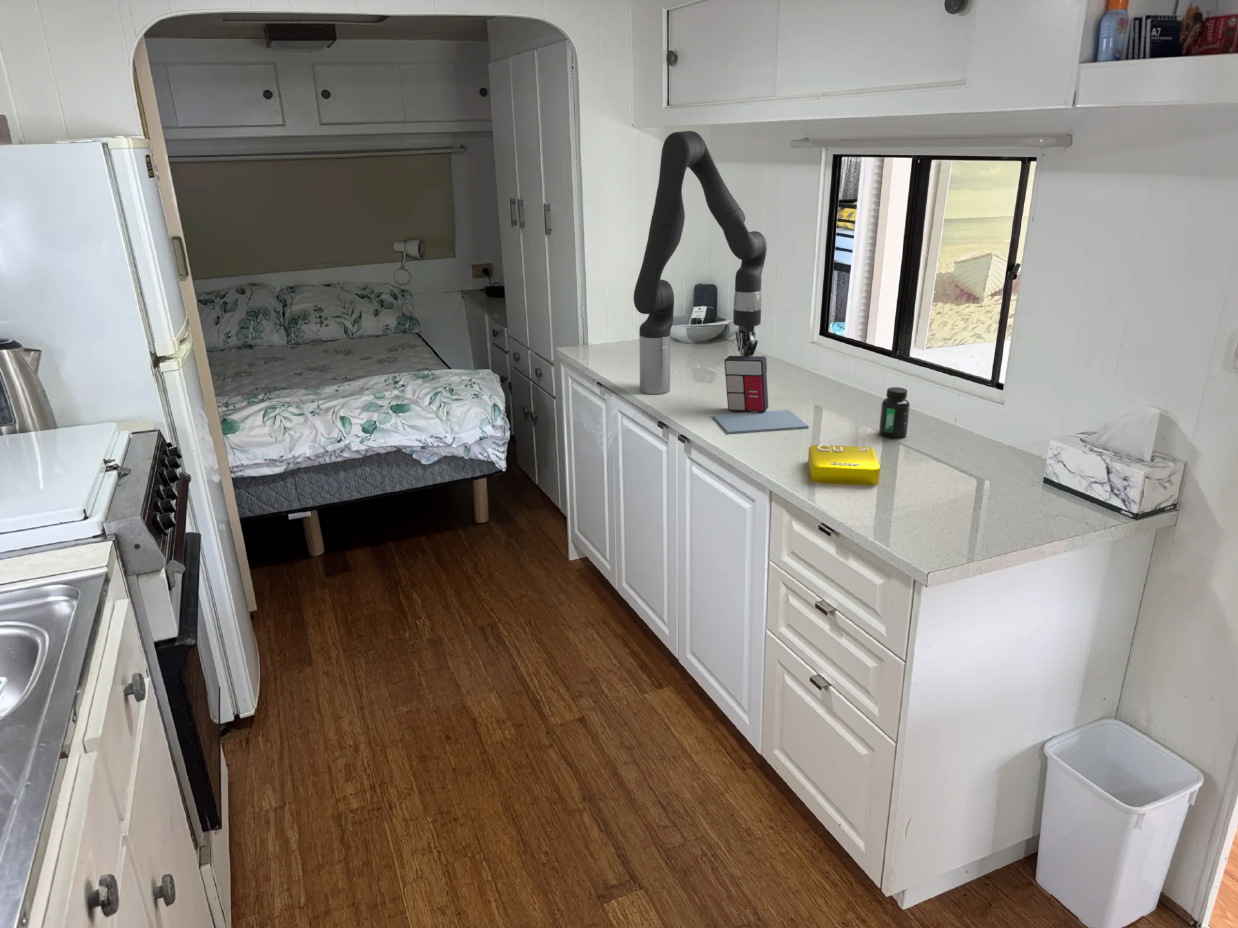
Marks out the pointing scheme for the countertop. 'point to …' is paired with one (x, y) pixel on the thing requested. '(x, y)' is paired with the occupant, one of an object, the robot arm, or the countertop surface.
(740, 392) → the dark grey boxy piece
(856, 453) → the element tile
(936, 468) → the countertop surface
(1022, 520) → the countertop surface
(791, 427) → the mat
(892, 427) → the supplement bottle
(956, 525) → the countertop surface
